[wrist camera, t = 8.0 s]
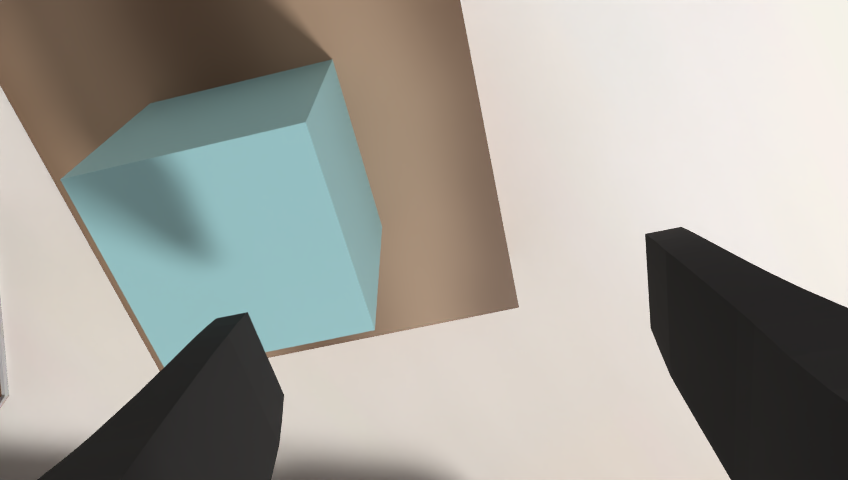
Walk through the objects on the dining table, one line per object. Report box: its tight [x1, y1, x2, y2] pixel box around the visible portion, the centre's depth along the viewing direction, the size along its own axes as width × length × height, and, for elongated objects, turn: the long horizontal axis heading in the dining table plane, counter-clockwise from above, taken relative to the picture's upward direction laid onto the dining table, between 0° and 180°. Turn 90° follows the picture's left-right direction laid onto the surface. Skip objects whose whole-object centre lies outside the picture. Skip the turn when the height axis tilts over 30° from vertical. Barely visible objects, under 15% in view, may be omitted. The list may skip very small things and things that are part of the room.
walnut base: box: [0, 0, 519, 371], centre depth 19 cm, size 12×12×3 cm
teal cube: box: [60, 59, 382, 367], centre depth 16 cm, size 5×5×5 cm
